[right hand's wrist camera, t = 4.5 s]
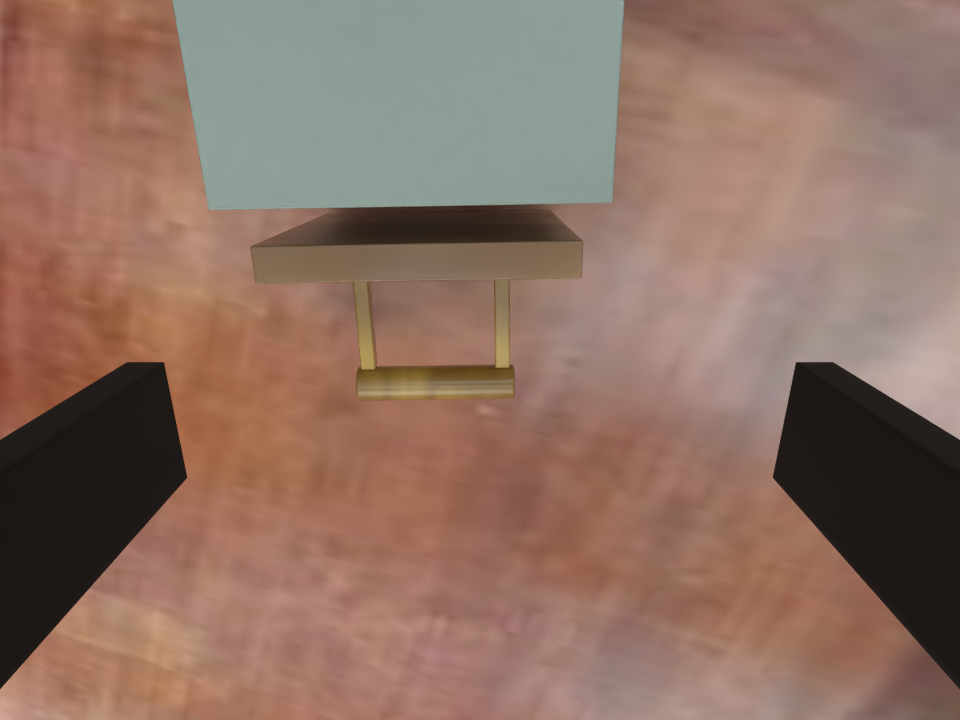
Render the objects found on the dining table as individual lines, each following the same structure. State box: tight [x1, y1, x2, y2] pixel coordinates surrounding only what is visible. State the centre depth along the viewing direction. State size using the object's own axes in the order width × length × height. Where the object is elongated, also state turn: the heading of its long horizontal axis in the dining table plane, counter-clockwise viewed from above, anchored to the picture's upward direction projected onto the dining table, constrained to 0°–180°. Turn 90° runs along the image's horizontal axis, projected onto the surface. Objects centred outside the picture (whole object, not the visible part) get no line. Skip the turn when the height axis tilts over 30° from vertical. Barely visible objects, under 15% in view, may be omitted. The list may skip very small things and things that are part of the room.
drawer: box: [250, 210, 583, 401], centre depth 21 cm, size 24×10×9 cm, turn 1°
